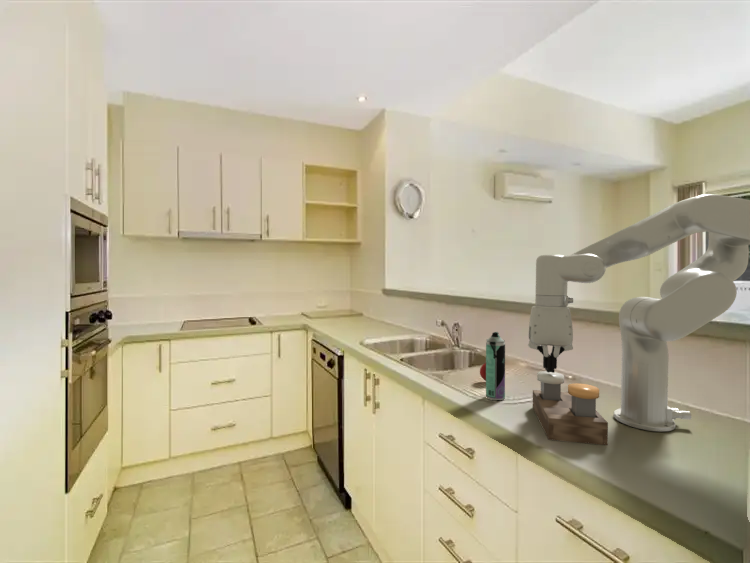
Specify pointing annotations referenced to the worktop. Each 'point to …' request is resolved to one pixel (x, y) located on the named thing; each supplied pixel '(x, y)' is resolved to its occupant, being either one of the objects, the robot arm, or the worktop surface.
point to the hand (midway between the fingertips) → (549, 371)
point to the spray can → (495, 367)
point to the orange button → (583, 399)
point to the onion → (483, 371)
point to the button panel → (568, 421)
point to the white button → (550, 385)
